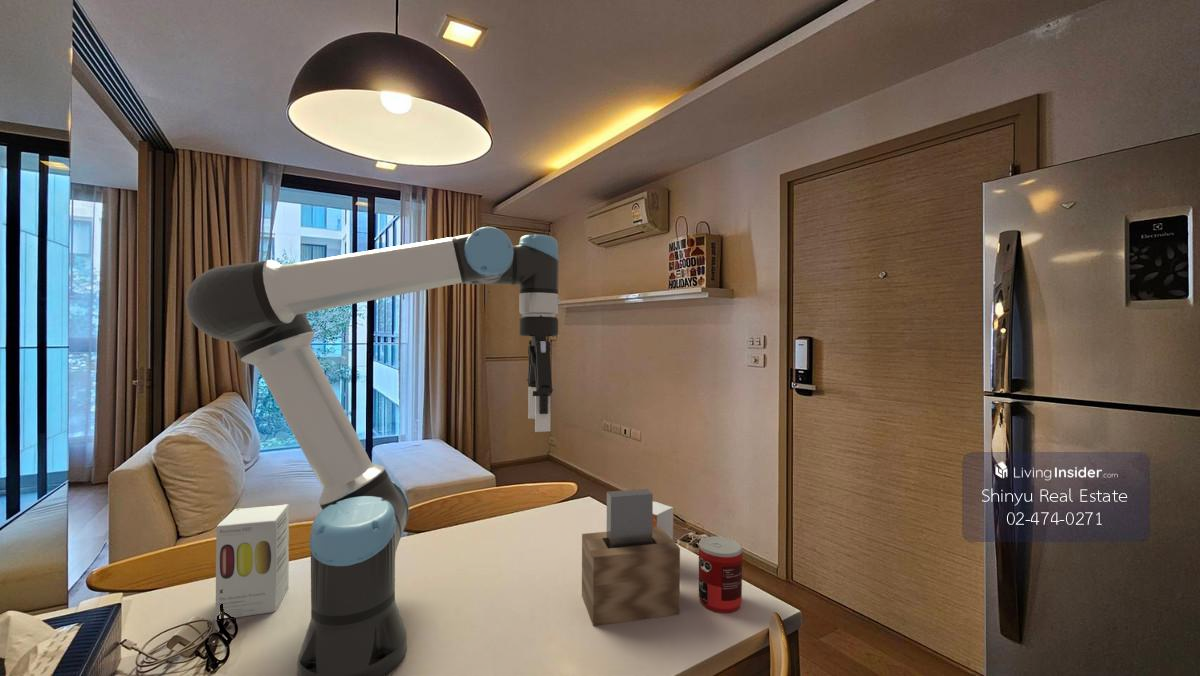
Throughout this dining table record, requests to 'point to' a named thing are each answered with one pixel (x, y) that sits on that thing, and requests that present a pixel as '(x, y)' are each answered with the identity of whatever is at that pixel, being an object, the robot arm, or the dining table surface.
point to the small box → (663, 518)
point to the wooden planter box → (630, 578)
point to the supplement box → (252, 560)
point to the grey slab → (629, 518)
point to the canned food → (720, 574)
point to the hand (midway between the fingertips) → (538, 424)
